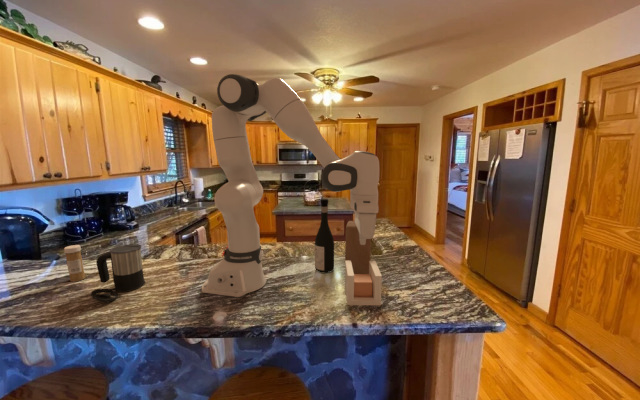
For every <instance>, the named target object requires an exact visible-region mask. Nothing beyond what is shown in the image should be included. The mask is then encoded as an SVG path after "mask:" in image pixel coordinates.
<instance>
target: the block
mask: <svg viewBox="0 0 640 400" xmlns="http://www.w3.org/2000/svg"><path fill="white" fill-rule="evenodd" d="M354 297H364V298H372V280H371V277H370V274H354Z"/></svg>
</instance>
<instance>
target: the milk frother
mask: <svg viewBox="0 0 640 400" xmlns="http://www.w3.org/2000/svg"><path fill="white" fill-rule="evenodd" d="M141 248H142V245H141V244H138V243H135V244H134V243H133V244H131V243H130V244H124V245H119V246H115V247H112V248H111V249H110V250H109V251H107V252H104V253H102V254H101V255H99V257H98V258H97V259H96V262H95V263H96V267H97V268H96V269H97V272H98V277H99V281H100V282H101V284H105V283H107V282H108V281H110V277H111V276H110V273H109V267H108V262H107V260H108V259H110V263H111V271H112V279H113V284H114V288H97V289H94V290H92V291H91V292H90V297H91V298H92V299H93V301H94V300H95V301H97V302H101V303H102V302H104V303H107V302H112V301H115V300H116V299H117V298H119V293H126V292H131V291H135V290H137V289H140V288H141V287H143V286H144V285H145V284H146V281H145V277H144V271H143V260H142V250H141ZM100 293H101V294H100Z"/></svg>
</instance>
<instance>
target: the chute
mask: <svg viewBox="0 0 640 400" xmlns="http://www.w3.org/2000/svg"><path fill="white" fill-rule="evenodd" d="M369 274H370V277H371V280H372V298H364V297H354V272H353V268H352V263H351V261H344V288H345V289H344V290H345V296H346V297H345V298H346V305H347V306H381V305H382V284H383V283H382V280H383V276H382V273H381V270H380V269H379V267H378V264H377V262H376V260H370V261H369Z"/></svg>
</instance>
